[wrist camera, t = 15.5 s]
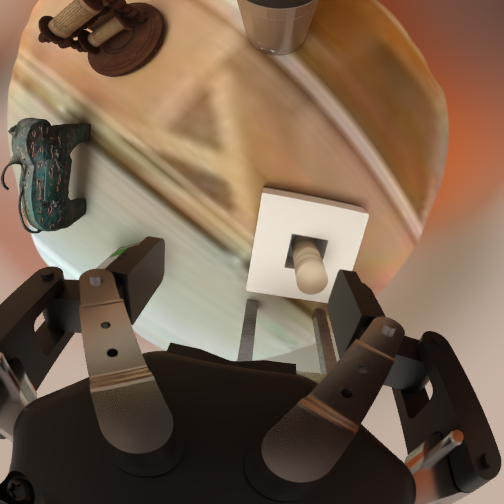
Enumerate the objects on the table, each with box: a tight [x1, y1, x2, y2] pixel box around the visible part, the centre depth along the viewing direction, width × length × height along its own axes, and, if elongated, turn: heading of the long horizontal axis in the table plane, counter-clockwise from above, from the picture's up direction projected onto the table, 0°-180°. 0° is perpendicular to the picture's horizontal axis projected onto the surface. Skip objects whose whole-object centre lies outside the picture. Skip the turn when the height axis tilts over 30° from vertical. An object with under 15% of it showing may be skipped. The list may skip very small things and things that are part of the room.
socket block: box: [246, 186, 369, 303], centre depth 43 cm, size 16×16×5 cm
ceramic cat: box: [1, 118, 91, 233], centre depth 33 cm, size 20×6×20 cm, turn 169°
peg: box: [291, 235, 328, 295], centre depth 39 cm, size 4×4×12 cm
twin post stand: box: [237, 299, 337, 384], centre depth 39 cm, size 7×17×25 cm, turn 82°
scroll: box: [38, 0, 164, 77], centre depth 24 cm, size 15×15×20 cm
